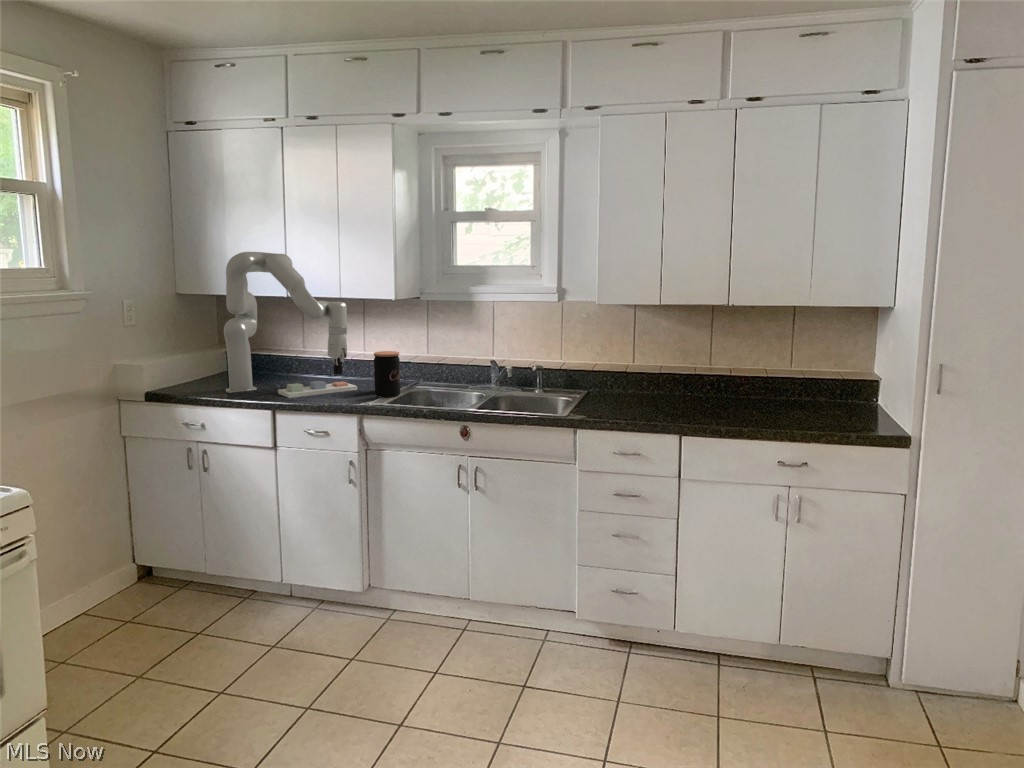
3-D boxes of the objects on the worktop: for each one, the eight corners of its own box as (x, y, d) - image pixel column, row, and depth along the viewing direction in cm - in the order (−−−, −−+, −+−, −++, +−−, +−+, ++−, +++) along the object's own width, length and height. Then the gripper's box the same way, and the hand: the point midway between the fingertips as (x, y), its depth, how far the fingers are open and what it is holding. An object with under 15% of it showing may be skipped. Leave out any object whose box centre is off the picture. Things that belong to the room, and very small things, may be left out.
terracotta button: (332, 391, 326) (332, 382, 325) (343, 390, 329) (343, 381, 328) (337, 393, 322) (337, 384, 321) (348, 392, 325) (348, 383, 324)
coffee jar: (393, 398, 312) (391, 354, 309) (370, 396, 316) (368, 353, 313) (404, 393, 322) (403, 351, 319) (382, 392, 326) (381, 350, 322)
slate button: (310, 391, 319) (309, 381, 319) (321, 389, 322) (321, 380, 322) (315, 393, 316) (314, 383, 315) (326, 391, 319) (325, 382, 318)
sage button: (287, 393, 313) (286, 384, 313) (298, 392, 316) (298, 383, 316) (291, 395, 310) (291, 386, 309) (303, 394, 313) (303, 384, 312)
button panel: (278, 396, 315) (277, 389, 314) (345, 388, 333) (344, 382, 332) (289, 401, 306) (288, 394, 305) (357, 393, 324) (357, 386, 323)
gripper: (322, 329, 324) (322, 372, 327) (337, 333, 313) (337, 377, 316) (338, 329, 329) (338, 371, 332) (353, 332, 317) (354, 376, 320)
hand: (338, 374), depth 324 cm, fingers closed
